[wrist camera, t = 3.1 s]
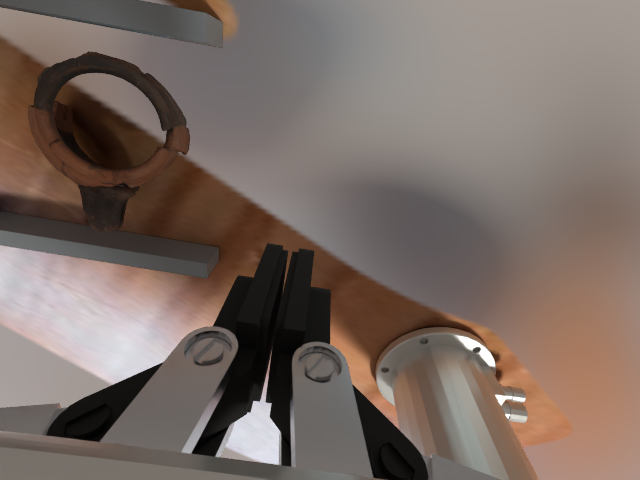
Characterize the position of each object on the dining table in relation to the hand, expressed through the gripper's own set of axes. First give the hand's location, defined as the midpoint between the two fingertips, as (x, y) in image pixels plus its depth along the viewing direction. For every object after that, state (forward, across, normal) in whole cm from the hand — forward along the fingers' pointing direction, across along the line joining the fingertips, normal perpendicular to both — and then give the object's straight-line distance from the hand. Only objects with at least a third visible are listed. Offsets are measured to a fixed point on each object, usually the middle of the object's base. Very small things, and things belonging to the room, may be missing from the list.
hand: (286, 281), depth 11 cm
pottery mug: (+16, +14, 0) cm, 22 cm away
